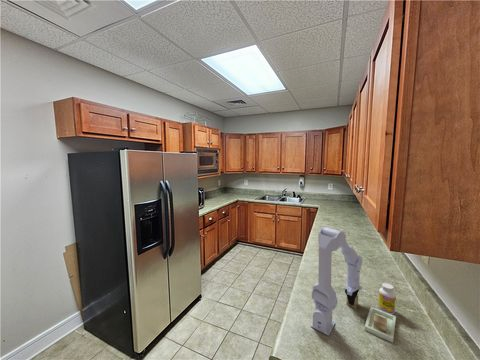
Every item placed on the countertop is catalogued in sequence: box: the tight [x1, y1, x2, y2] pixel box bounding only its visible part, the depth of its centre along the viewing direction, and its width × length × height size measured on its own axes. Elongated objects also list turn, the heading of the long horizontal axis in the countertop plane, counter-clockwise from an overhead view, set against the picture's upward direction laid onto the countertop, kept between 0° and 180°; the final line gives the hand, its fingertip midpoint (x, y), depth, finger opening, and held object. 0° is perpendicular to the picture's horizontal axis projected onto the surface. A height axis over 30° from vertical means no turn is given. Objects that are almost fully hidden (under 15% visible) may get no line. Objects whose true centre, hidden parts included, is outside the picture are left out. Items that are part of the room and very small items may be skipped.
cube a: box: [373, 314, 387, 334], centre depth 89 cm, size 4×4×4 cm
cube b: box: [346, 295, 359, 309], centre depth 106 cm, size 4×4×4 cm
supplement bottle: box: [378, 282, 397, 315], centre depth 101 cm, size 7×7×13 cm
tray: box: [364, 306, 397, 344], centre depth 92 cm, size 16×10×2 cm, turn 139°
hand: (352, 301), depth 106 cm, fingers open, 5 cm apart
